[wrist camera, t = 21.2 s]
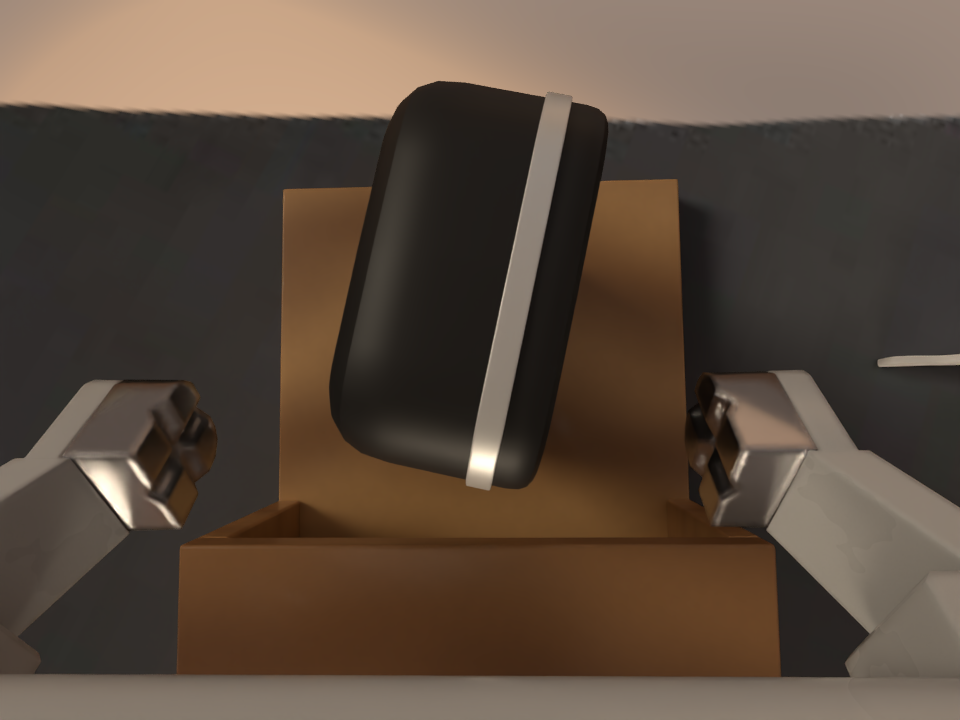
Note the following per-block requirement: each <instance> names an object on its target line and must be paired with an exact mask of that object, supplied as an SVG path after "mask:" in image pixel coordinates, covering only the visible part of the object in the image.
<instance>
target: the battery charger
mask: <svg viewBox="0 0 960 720" xmlns="http://www.w3.org/2000/svg"><path fill="white" fill-rule="evenodd" d="M607 138H608V122H607V119H606V116H605V114H604V113H602V112H601V111H600V110H599V109H597V108H595V107H592V106H589V105H584V104H579V103H573V102H572V96H569V95H564V94H558V93H552V92H547V95H546V97H541V96H535V95H530V94H524V93H519V92H513V91H508V90H502V89H497V88H491V87H486V86H481V85H475V84H470V83H461V82H445V81H437V82H434V83H430V84H427V85H424V86H421V87H418V88H417V89H416V90H414V91H413V92H412V93H411V94H410V95H409V96H408V97H407V98H405V99H404V100H403V101H402V102H401V103H400V105H399V106H398V107H397V109H396V111H395V113H394V115H393V117H392V119H391V121H390V123H389V125H388V128H387V130H386V133H385V136H384V140H383V143H382V147H381V151H380V155H379V159H378V164H377V168H376V172H375V176H374V181H373V185H372V189H371V193H370V198H369V202H368V206H367V211H366V215H365V219H364V223H363V228H362V232H361V236H360V240H359V245H358V249H357V253H356V258H355V262H354V267H353V271H352V276H351V280H350V285H349V289H348V294H347V298H346V303H345V307H344V312H343V316H342V321H341V325H340V330H339V334H338V339H337V343H336V348H335V352H334V357H333V362H332V367H331V373H330V381H329V399H330V409H331V416H332V418H333V420H334V423H335V424H336V426H337V428H338V430H339V432H340V433H341V435H342V437H343V439H344V440H345V441H346V442H347V443H349V444H350V445H351V446H353V447H354V448H355V449H356V450H358V451H359V452H360V453H362V454H365V455H368V456H371V457H374V458H377V459H380V460H383V461H386V462H389V463H393V464H397V465H401V466H406V467H411V468H415V469H420V470H424V471H429V472H433V473H438V474H442V475H447V476H451V477H456V478H460V479H465V480H466V486H470V487H474V488H479V489H483V490H488V491H489V490H490V489H491V485H492V486H496V487H501V488H506V489H521V488H524V487H527V486H528V485H529V484H530V483H531V482H532V481H533V480H534V478H535V476H536V474H537V471H538V468H539V465H540V462H541V459H542V456H543V453H544V449H545V445H546V441H547V437H548V433H549V429H550V425H551V421H552V416H553V411H554V407H555V402H556V398H557V393H558V388H559V383H560V378H561V373H562V368H563V364H564V359H565V354H566V349H567V344H568V339H569V334H570V330H571V325H572V320H573V315H574V310H575V305H576V300H577V296H578V291H579V286H580V281H581V276H582V271H583V266H584V261H585V256H586V251H587V246H588V241H589V236H590V231H591V226H592V221H593V216H594V211H595V206H596V201H597V196H598V191H599V186H600V181H601V176H602V170H603V165H604V160H605V153H606V146H607Z"/></svg>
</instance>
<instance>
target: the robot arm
mask: <svg viewBox="0 0 960 720" xmlns="http://www.w3.org/2000/svg"><path fill="white" fill-rule="evenodd" d="M695 394H696V396H697V399H698V402H699V403H698V404H696V405H695V406H694V407H692V408H691V409H690V410H689V411H688V415H687V418H686V422H685V438H684V442H685V448H686V454H687V457H688V460H689V463H690V467H691V468H692V469H694V470H695V471H696V472H697V473H698V474H700V475H701V476H702V477H703V478H702V481H701V484H700V487H699V490H698V491H699V494H700V497H701V499H702V502H703V505H704V508H705V511H706V514H707V517H708V520H709V523H710V526H715V527H763V528H767V531H768V532H769V533H770V534H771V535H772V536H773V537H774V538H775V539H776V540H777V541H778V542H779V543H780V544H781V545H782V546H783V547H784V548H785V549H786V550H787V551H788V552H789V553H790V554H791V555H792V556H793V557H794V558H795V559H796V560H797V561H798V562H799V563H800V564H801V565H802V566H803V567H804V568H805V569H806V570H807V571H808V572H809V573H810V574H811V575H812V576H813V577H814V578H815V579H816V580H817V581H818V582H819V583H820V584H821V585H822V586H823V587H824V588H825V589H826V590H827V591H828V592H829V593H830V594H831V595H832V596H833V597H834V598H835V599H836V600H837V601H838V602H839V603H840V604H841V605H842V606H843V607H844V608H845V609H846V610H847V611H848V612H849V613H850V614H851V615H852V616H853V617H854V618H855V619H856V620H857V621H858V622H859V623H860V624H861V625H862V626H863V627H864V628H865V629H866V630H867V631H868V632H869V633H870V634H869V635H868V636H867V637H866V638H865V639H864V640H863V642H862V643H861V644H860V645H859V646H858V647H857V648H856V649H855V650H854V651H853V652H852V653H851V654H850V656H849V657H848V659H847V660H846V662H845V665H846V668H847V670H848V672H849V674H850V677H666V676H432V675H188V674H34V673H35V671H36V669H37V668H38V666H39V664H40V662H41V660H40V656H39V653H38V652H37V651H36V650H34V649H33V648H32V647H30V646H29V645H28V644H26V643H25V642H24V641H22V640H21V639H20V638H18V636H19V635H20V634H21V633H22V632H23V631H24V630H25V629H26V628H27V627H29V626H30V625H31V624H32V623H33V622H34V621H35V620H36V619H37V618H38V617H39V616H40V615H42V614H43V613H44V612H45V611H46V610H47V609H48V608H49V607H50V606H51V605H52V604H53V603H55V602H56V601H57V600H58V599H59V598H60V597H61V596H62V595H63V594H64V593H65V592H67V591H68V590H69V589H70V588H71V587H72V586H73V585H74V584H75V583H76V582H77V581H78V580H80V579H81V578H82V577H83V576H84V575H85V574H86V573H87V572H88V571H89V570H90V569H91V568H93V567H94V566H95V565H96V564H97V563H98V562H99V561H100V560H101V559H102V558H103V557H104V556H106V555H107V554H108V553H109V552H110V551H111V550H112V549H113V548H114V547H115V546H116V545H118V544H119V543H120V542H121V541H122V540H123V539H124V538H125V537H126V536H127V535H128V534H129V532H128V531H136V530H167V529H182V527H183V525H184V523H185V521H186V519H187V517H188V515H189V513H190V510H191V508H192V506H193V504H194V502H195V500H196V498H197V496H198V491H197V488H196V486H195V483H194V482H196V481H197V480H198V479H200V478H201V477H202V476H203V475H205V474H206V473H207V472H209V470H210V468H211V465H212V463H213V461H214V459H215V456H216V448H217V440H218V439H217V434H216V429H215V425H214V423H213V421H212V419H211V417H210V416H209V415H207V414H206V413H204V412H203V411H201V410H200V409H199V408H197V407H196V406H197V404H198V402H199V399H200V396H199V394H198V392H197V390H196V389H195V387H194V385H193V383H191V382H188V381H184V380H93V381H91V382H89V383H86V384H84V385H83V386H82V387H81V389H80V390H79V391H78V392H77V394H76V395H75V396H74V397H73V399H72V400H71V401H70V402H69V404H68V405H67V406H66V407H65V409H64V410H63V411H62V412H61V414H60V415H59V416H58V417H57V418H56V420H55V421H54V422H53V423H52V425H51V426H50V427H49V428H48V430H47V431H46V432H45V433H44V435H43V436H42V437H41V438H40V440H39V441H38V442H37V443H36V445H35V446H34V447H33V448H32V450H31V451H30V452H29V453H28V455H27V456H26V457H25V458H15V459H13V460H11V461H9V462H8V463H6V464H4V465H3V466H1V467H0V720H960V508H959V507H958V506H956V505H955V504H953V503H952V502H950V501H948V500H947V499H945V498H944V497H942V496H941V495H939V494H937V493H936V492H934V491H933V490H931V489H929V488H928V487H926V486H925V485H923V484H922V483H920V482H918V481H917V480H915V479H914V478H912V477H910V476H909V475H907V474H906V473H904V472H903V471H901V470H899V469H898V468H896V467H895V466H893V465H891V464H890V463H888V462H887V461H885V460H884V459H882V458H880V457H879V456H877V455H876V454H874V453H873V452H871V451H869V450H858V449H857V447H856V446H855V444H854V442H853V441H852V439H851V438H850V436H849V435H848V433H847V431H846V430H845V428H844V427H843V425H842V424H841V422H840V421H839V419H838V417H837V416H836V414H835V413H834V411H833V410H832V408H831V407H830V405H829V403H828V402H827V400H826V399H825V397H824V396H823V394H822V393H821V391H820V389H819V388H818V386H817V385H816V383H815V382H814V380H813V378H812V377H811V375H810V374H808V373H807V372H805V371H804V370H780V371H768V372H766V371H755V372H709V373H702V375H701V376H700V377H699V379H698V381H697V384H696V388H695Z"/></svg>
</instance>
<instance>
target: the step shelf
mask: <svg viewBox="0 0 960 720" xmlns="http://www.w3.org/2000/svg"><path fill="white" fill-rule="evenodd" d="M371 189H372V187H354V188H316V189H285V190H284V191H283V250H282V322H281V395H280V467H279V501H278V502H276V503H274V504H271V505H269V506H267V507H265V508H263V509H260V510H258V511H256V512H254V513H252V514H249V515H247V516H245V517H243V518H241V519H238V520H236V521H234V522H232V523H230V524H228V525H225V526H223V527H221V528H219V529H217V530H214V531H212V532H210V533H208V534H206V535H203V536H201V537H199V538H197V539H194V540H192V541H190V542H188V543H186V544H183V545H181V547H180V565H179V604H178V643H177V674H188V675H432V676H666V677H781V662H780V640H779V618H778V597H777V575H776V553H775V546H774V545H773V544H771V543H769V542H767V541H765V540H764V539H762V538H759V537H758V536H756V535H754V534H752V533H751V532H749V531H747V530H745V529H743V528H741V527H715V526H710V523H709V520H708V517H707V514H706V511H705V508H704V507H702V506H700V505H699V504H697V503H695V502H693V501H691V500H689V476H688V457H687V454H686V448H685V442H684V438H685V422H686V393H685V365H684V337H683V310H682V282H681V254H680V226H679V199H678V180H677V179H664V180H626V181H600V186H599V191H598V196H597V201H596V206H595V211H594V216H593V221H592V226H591V231H590V236H589V241H588V246H587V251H586V256H585V261H584V266H583V271H582V276H581V281H580V286H579V291H578V296H577V300H576V305H575V310H574V315H573V320H572V325H571V330H570V334H569V339H568V344H567V349H566V354H565V359H564V364H563V368H562V373H561V378H560V383H559V388H558V393H557V398H556V402H555V407H554V411H553V416H552V421H551V425H550V429H549V433H548V437H547V441H546V445H545V449H544V453H543V456H542V459H541V462H540V465H539V468H538V471H537V474H536V476H535V478H534V480H533V481H532V482H531V483H530V484H529V485H528V486H527V487H524V488H521V489H506V488H501V487H496V486H492V485H491V489H490V490H489V491H488V490H483V489H479V488H474V487H470V486H466V480H465V479H460V478H456V477H451V476H447V475H442V474H438V473H433V472H429V471H424V470H420V469H415V468H411V467H406V466H401V465H397V464H393V463H389V462H386V461H383V460H380V459H377V458H374V457H371V456H368V455H365V454H362V453H360V452H359V451H358V450H356V449H355V448H354V447H353V446H351V445H350V444H349V443H347V442H346V441H345V440H344V439H343V437H342V435H341V433H340V432H339V430H338V428H337V426H336V424H335V423H334V420H333V418H332V416H331V409H330V399H329V381H330V373H331V367H332V362H333V357H334V352H335V348H336V343H337V339H338V334H339V330H340V325H341V321H342V316H343V312H344V307H345V303H346V298H347V294H348V289H349V285H350V280H351V276H352V271H353V267H354V262H355V258H356V253H357V249H358V245H359V240H360V236H361V232H362V228H363V223H364V219H365V215H366V211H367V206H368V202H369V198H370V193H371Z"/></svg>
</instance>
